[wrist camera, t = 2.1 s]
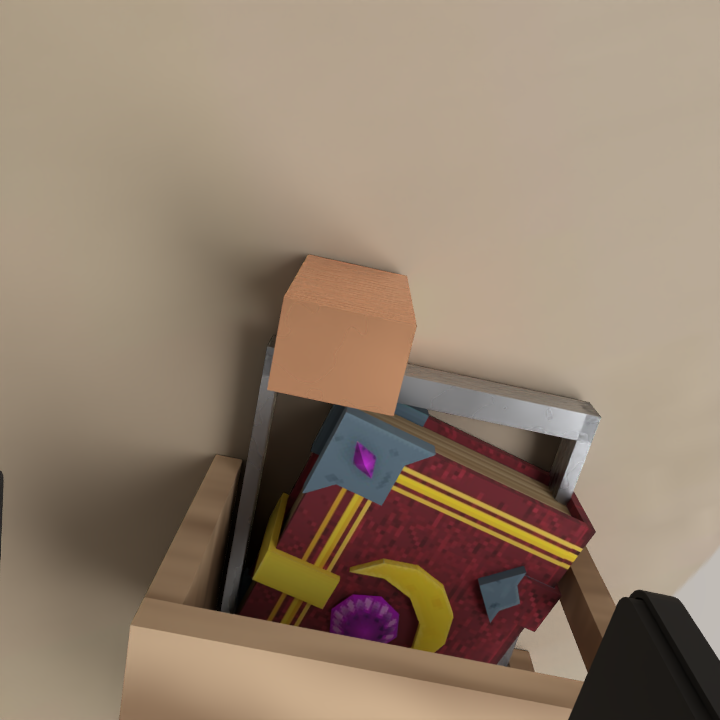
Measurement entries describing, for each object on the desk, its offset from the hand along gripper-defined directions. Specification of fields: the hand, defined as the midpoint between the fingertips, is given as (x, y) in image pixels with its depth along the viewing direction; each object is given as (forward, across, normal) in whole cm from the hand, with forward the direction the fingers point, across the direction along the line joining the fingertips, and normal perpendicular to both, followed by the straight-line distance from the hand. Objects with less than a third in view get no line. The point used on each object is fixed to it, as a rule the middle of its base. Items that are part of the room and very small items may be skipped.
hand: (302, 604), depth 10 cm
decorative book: (+18, -4, +12) cm, 22 cm away
